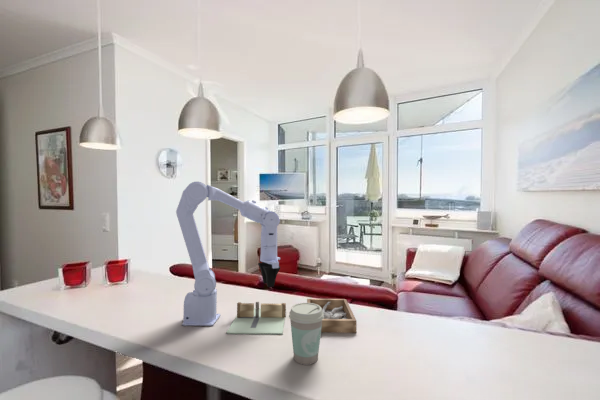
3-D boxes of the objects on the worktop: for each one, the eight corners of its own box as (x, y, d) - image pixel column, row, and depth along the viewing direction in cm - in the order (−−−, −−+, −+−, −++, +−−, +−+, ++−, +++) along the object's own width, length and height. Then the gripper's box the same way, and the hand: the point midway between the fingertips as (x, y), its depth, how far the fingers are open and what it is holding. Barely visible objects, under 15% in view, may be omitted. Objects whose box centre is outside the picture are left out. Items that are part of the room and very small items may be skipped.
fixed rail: (236, 317, 86) (236, 302, 86) (237, 316, 88) (237, 301, 88) (258, 318, 86) (258, 303, 86) (259, 316, 88) (259, 301, 88)
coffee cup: (296, 372, 59) (297, 317, 60) (283, 352, 67) (284, 304, 67) (330, 363, 63) (330, 311, 63) (313, 345, 71) (314, 300, 71)
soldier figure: (352, 322, 87) (334, 323, 78) (340, 330, 88) (322, 332, 79) (340, 301, 92) (322, 299, 83) (329, 309, 93) (311, 307, 84)
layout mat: (226, 333, 77) (226, 332, 77) (240, 309, 95) (240, 308, 95) (282, 334, 76) (282, 332, 76) (286, 309, 94) (286, 308, 94)
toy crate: (308, 332, 78) (308, 320, 78) (307, 308, 96) (307, 298, 96) (356, 332, 78) (356, 320, 78) (345, 308, 96) (346, 299, 96)
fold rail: (260, 317, 86) (260, 304, 86) (261, 315, 88) (261, 302, 88) (285, 317, 86) (285, 304, 86) (285, 315, 88) (285, 302, 88)
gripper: (287, 248, 88) (287, 289, 87) (273, 242, 101) (272, 278, 101) (267, 249, 85) (266, 292, 85) (254, 243, 98) (254, 280, 98)
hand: (268, 284), depth 92 cm, fingers open, 4 cm apart
